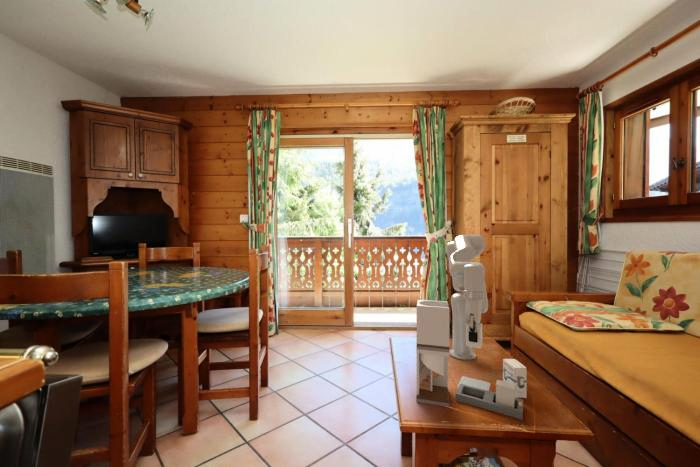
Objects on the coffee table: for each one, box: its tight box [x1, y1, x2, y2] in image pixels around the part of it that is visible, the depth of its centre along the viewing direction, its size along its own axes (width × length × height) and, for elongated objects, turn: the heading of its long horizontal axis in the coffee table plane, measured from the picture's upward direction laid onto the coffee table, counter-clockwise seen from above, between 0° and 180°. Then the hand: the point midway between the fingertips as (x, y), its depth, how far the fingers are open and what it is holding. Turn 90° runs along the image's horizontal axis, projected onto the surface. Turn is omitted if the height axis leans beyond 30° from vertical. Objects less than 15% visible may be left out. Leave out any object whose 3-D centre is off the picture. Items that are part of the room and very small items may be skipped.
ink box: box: [502, 358, 528, 399], centre depth 111 cm, size 9×5×12 cm, turn 0°
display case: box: [415, 299, 450, 408], centre depth 109 cm, size 11×11×35 cm
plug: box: [466, 322, 483, 350], centre depth 116 cm, size 4×6×9 cm
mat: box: [456, 375, 491, 391], centre depth 116 cm, size 11×11×1 cm
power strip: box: [455, 384, 524, 421], centre depth 103 cm, size 8×21×4 cm, turn 58°
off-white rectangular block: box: [495, 379, 516, 408], centre depth 100 cm, size 4×6×9 cm
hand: (474, 339), depth 116 cm, fingers closed on plug, 4 cm apart
